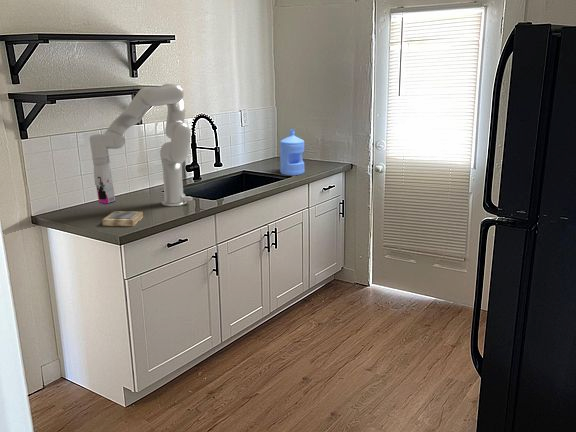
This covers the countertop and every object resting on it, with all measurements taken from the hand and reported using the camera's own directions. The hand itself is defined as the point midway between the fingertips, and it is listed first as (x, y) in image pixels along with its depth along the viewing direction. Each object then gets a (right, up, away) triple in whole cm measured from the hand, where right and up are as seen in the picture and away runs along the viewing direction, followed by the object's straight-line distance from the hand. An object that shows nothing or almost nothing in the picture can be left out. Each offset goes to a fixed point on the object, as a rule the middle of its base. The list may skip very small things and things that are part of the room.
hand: (106, 196), depth 267 cm
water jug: (+90, +18, +92) cm, 130 cm away
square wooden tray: (+11, -12, -11) cm, 19 cm away
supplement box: (0, -3, +1) cm, 3 cm away
